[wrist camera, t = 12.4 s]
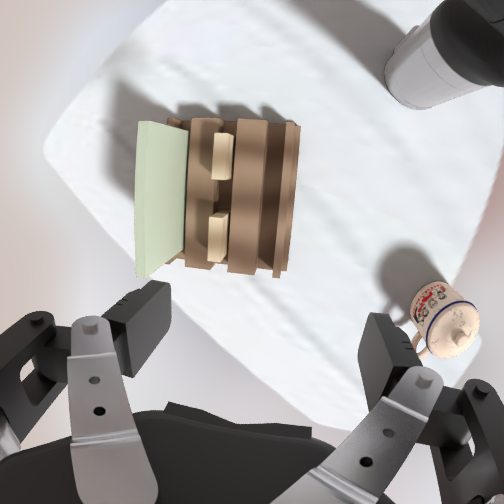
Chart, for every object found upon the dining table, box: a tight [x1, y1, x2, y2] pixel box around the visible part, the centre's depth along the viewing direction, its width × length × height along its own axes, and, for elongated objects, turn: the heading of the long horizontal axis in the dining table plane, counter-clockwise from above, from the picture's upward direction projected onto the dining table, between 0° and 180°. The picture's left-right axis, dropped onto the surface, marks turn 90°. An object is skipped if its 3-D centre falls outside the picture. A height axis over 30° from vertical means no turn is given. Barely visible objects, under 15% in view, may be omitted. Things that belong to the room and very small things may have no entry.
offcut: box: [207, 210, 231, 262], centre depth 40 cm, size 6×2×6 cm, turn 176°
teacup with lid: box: [410, 281, 479, 359], centre depth 38 cm, size 12×9×12 cm
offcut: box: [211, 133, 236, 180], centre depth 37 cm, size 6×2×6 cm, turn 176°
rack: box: [165, 118, 301, 278], centre depth 41 cm, size 20×18×4 cm
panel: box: [134, 121, 191, 278], centre depth 35 cm, size 16×1×14 cm, turn 176°
